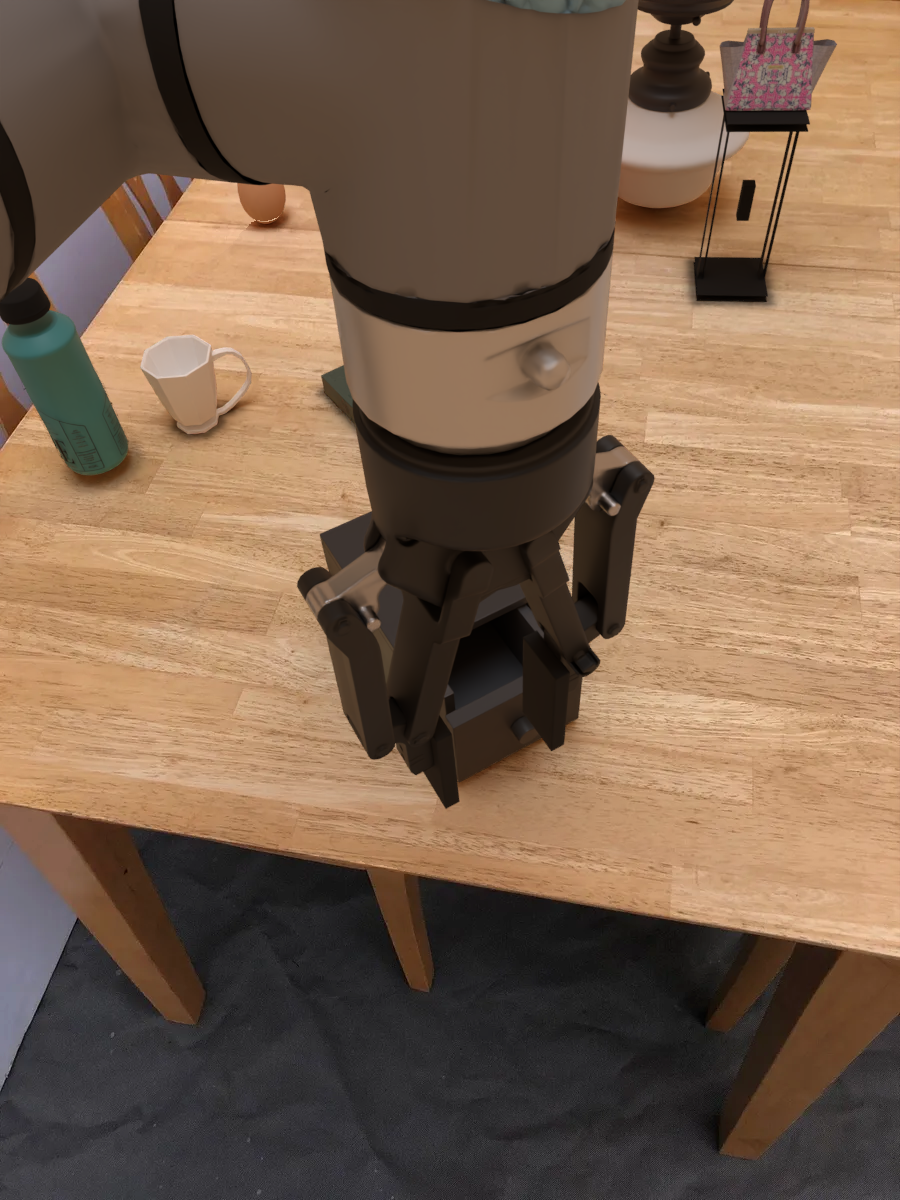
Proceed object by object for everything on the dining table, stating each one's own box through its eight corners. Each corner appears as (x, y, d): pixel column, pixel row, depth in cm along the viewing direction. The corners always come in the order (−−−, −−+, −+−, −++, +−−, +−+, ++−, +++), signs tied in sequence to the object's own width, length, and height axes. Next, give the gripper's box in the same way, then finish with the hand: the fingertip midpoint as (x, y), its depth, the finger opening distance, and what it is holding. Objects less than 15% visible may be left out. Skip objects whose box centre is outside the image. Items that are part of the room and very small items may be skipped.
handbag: (683, 300, 102) (733, -6, 79) (681, 262, 107) (727, -38, 83) (781, 302, 101) (862, -8, 78) (774, 263, 106) (848, -41, 82)
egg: (294, 209, 119) (281, 144, 113) (285, 233, 116) (271, 168, 109) (251, 209, 120) (236, 144, 113) (241, 233, 116) (224, 168, 110)
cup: (156, 411, 96) (131, 346, 89) (248, 381, 98) (229, 315, 92) (174, 452, 92) (148, 387, 85) (269, 419, 94) (251, 354, 88)
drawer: (587, 730, 69) (594, 672, 63) (467, 796, 66) (462, 742, 60) (493, 606, 76) (491, 544, 70) (381, 661, 74) (369, 601, 68)
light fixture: (767, 220, 111) (821, -21, 91) (622, 262, 108) (646, 20, 88) (682, 150, 123) (714, -78, 103) (549, 185, 119) (555, -44, 99)
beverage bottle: (149, 452, 92) (73, 272, 76) (108, 496, 88) (19, 318, 73) (97, 436, 94) (12, 258, 78) (55, 479, 90) (-43, 301, 75)
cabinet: (540, 663, 74) (543, 588, 66) (412, 729, 71) (400, 658, 63) (456, 554, 81) (450, 475, 74) (338, 609, 78) (319, 533, 71)
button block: (324, 392, 96) (317, 360, 93) (404, 354, 99) (401, 323, 96) (384, 455, 90) (379, 423, 87) (468, 412, 93) (467, 381, 90)
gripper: (233, 589, 23) (359, 913, 41) (800, 337, 28) (688, 727, 46) (142, 420, 27) (293, 782, 45) (648, 227, 32) (600, 624, 50)
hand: (491, 754), depth 46 cm, fingers open, 5 cm apart
